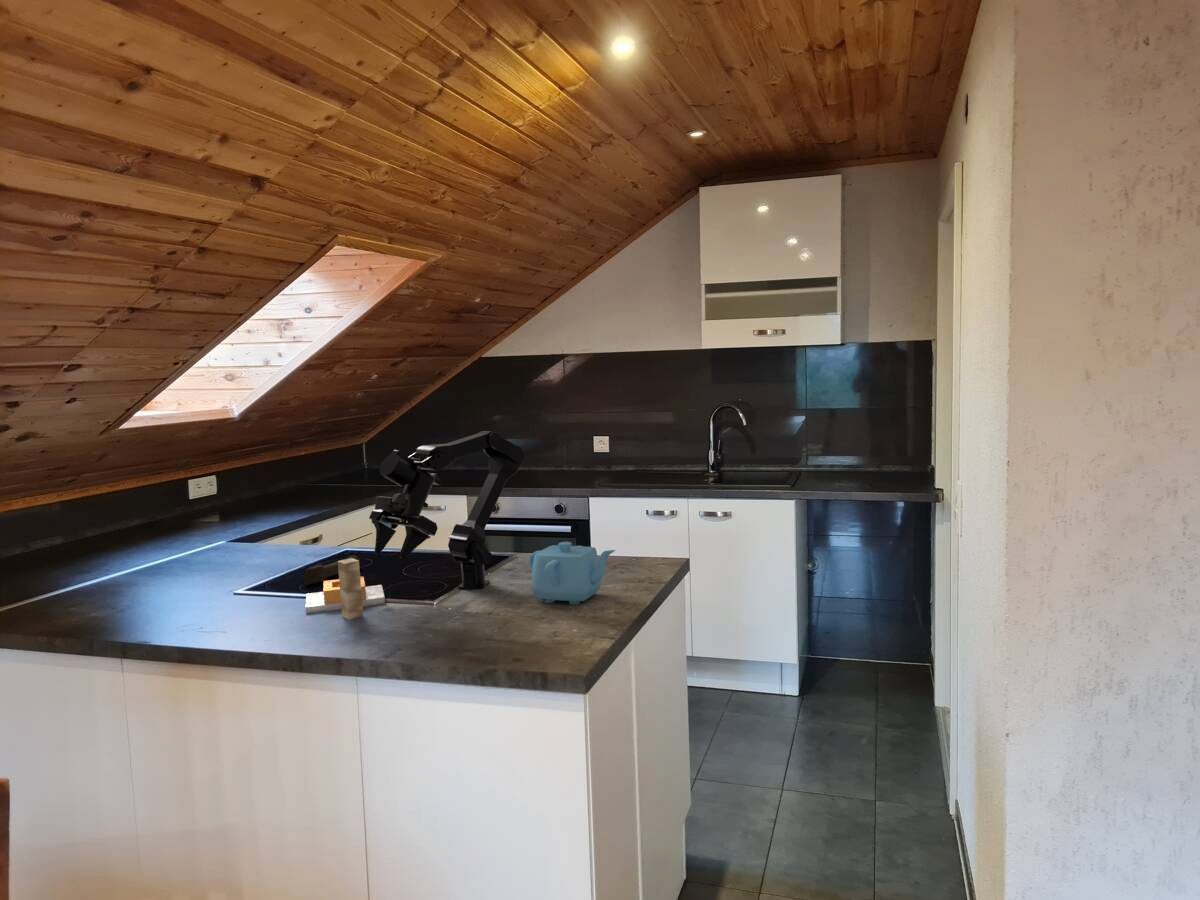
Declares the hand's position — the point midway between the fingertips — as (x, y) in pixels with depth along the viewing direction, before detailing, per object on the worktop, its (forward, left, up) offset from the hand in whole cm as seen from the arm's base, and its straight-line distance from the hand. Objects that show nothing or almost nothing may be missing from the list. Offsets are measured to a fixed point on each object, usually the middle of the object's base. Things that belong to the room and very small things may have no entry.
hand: (388, 556), depth 200 cm
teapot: (-11, +41, -13) cm, 44 cm away
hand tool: (-29, -29, -14) cm, 44 cm away
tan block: (+4, -8, -13) cm, 16 cm away
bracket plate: (-7, -15, -13) cm, 21 cm away
